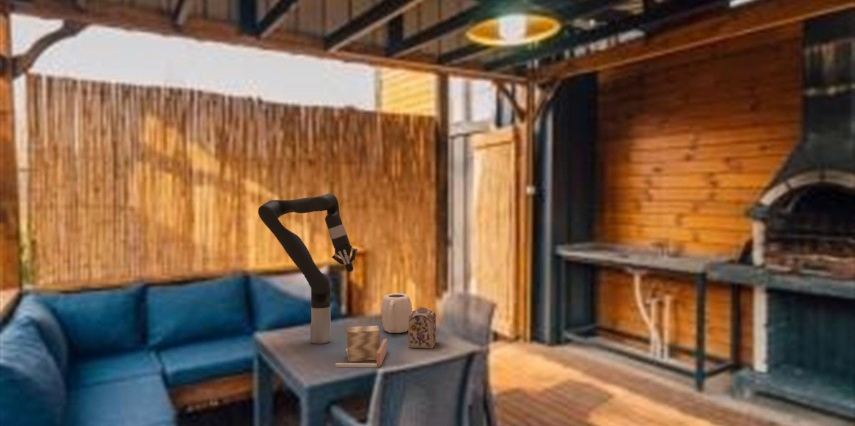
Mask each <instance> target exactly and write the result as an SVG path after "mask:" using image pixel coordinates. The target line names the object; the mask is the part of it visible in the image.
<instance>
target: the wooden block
mask: <svg viewBox="0 0 855 426" xmlns="http://www.w3.org/2000/svg"><path fill="white" fill-rule="evenodd" d="M380 345H381V329H380V328H379V325H366V326H365V325H364V326H363V325H362V326H361V325H360V326H346V349H347V352H346V354H347V355H346V356H347V357H346V358H347V361H348V363H350V362H360V361H361V362H362V361H363V362H364V361H373V360H374V361H377V359H376V353H377V351H378V349H379V347H380Z"/></svg>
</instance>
